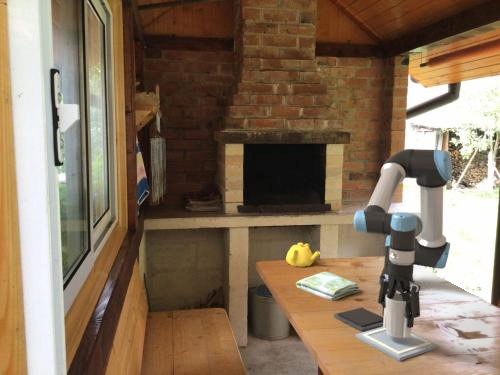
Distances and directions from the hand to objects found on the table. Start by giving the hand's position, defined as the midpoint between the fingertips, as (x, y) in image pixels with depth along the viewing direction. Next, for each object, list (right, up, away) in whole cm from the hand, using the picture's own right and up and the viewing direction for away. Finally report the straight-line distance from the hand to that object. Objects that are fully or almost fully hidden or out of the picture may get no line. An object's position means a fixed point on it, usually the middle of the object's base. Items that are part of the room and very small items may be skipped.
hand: (396, 331), depth 144 cm
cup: (0, -1, 0) cm, 1 cm away
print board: (0, -4, 0) cm, 4 cm away
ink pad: (-7, -2, +17) cm, 19 cm away
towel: (-14, +1, +49) cm, 51 cm away
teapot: (-20, +6, +88) cm, 90 cm away
